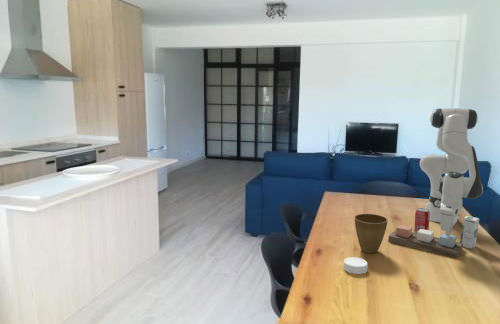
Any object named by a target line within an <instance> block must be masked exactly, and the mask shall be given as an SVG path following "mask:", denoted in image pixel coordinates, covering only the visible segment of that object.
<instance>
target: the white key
mask: <svg viewBox="0 0 500 324" xmlns="http://www.w3.org/2000/svg"><path fill="white" fill-rule="evenodd" d="M433 237H434V231H433V230H430V229H429V230H424V229H420V230H419V231H418V232H417V240H420V241H424V242H429V243H430V242H431V241H432V240H433Z"/></svg>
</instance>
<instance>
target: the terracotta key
mask: <svg viewBox="0 0 500 324" xmlns="http://www.w3.org/2000/svg"><path fill="white" fill-rule="evenodd" d="M395 230H396V235H398V236H402V237H407V238H409V237H410V236H411V235H412V232H413V226H409V225H404V224H398V226H397V227H396V229H395Z"/></svg>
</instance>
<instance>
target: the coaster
mask: <svg viewBox="0 0 500 324" xmlns="http://www.w3.org/2000/svg"><path fill="white" fill-rule="evenodd" d="M342 265H343V266H342V268H343V270H344V271H345V272H347V273H350V274H352V275H363V273H364V274H365V273H367V272H368V269H369V268H368V267H369V266H368V265H369V262H367V261H366V260H365V259H364V258H361V257H356V256H351V257H346V258H344V259H343V264H342Z"/></svg>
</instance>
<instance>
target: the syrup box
mask: <svg viewBox="0 0 500 324" xmlns="http://www.w3.org/2000/svg"><path fill="white" fill-rule="evenodd" d="M479 224H480V218H479V217H474V216H471V215H466V216H465V217H463V219H462V225H461V232H460V239H459V243H463V246H462V248H466V249H471V250H473V249H474V248H475V247H476V245H477V241H478V232H479Z"/></svg>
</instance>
